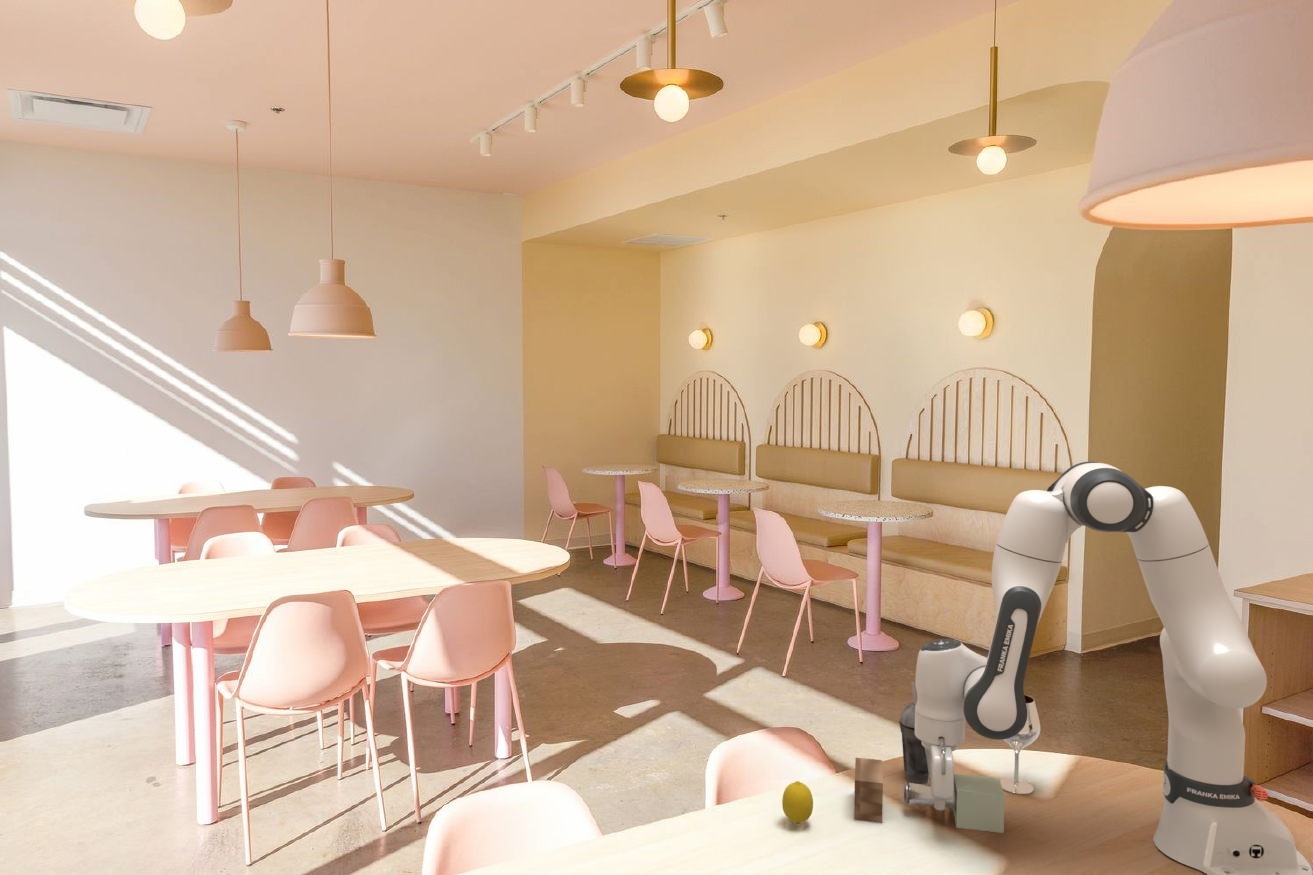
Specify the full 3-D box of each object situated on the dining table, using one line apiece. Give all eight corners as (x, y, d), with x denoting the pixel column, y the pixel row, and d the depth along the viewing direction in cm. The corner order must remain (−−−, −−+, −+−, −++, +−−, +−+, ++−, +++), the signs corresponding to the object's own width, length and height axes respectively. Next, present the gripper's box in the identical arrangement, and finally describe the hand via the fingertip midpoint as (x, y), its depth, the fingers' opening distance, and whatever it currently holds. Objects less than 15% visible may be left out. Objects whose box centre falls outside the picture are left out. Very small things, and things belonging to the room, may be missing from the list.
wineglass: (1045, 796, 170) (1048, 706, 169) (1003, 796, 170) (1005, 705, 169) (1028, 777, 178) (1030, 691, 177) (987, 777, 179) (990, 690, 177)
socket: (881, 797, 170) (882, 760, 169) (882, 823, 160) (882, 783, 160) (855, 794, 171) (855, 757, 171) (854, 819, 161) (854, 780, 161)
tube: (993, 807, 162) (994, 788, 162) (996, 817, 158) (997, 797, 158) (903, 797, 166) (904, 778, 166) (904, 806, 162) (904, 787, 162)
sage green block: (998, 814, 164) (999, 778, 163) (1003, 832, 157) (1004, 795, 156) (952, 809, 165) (953, 773, 165) (956, 827, 159) (957, 790, 158)
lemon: (818, 823, 160) (819, 780, 159) (801, 835, 156) (802, 791, 155) (793, 813, 164) (793, 771, 163) (775, 824, 160) (776, 781, 159)
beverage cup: (937, 788, 174) (939, 689, 172) (899, 785, 175) (901, 687, 174) (933, 772, 181) (935, 677, 179) (896, 769, 182) (898, 675, 181)
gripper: (963, 752, 151) (961, 830, 152) (952, 709, 171) (951, 778, 171) (925, 748, 152) (923, 826, 153) (918, 706, 172) (917, 775, 173)
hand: (938, 800), depth 162 cm, fingers open, 4 cm apart
